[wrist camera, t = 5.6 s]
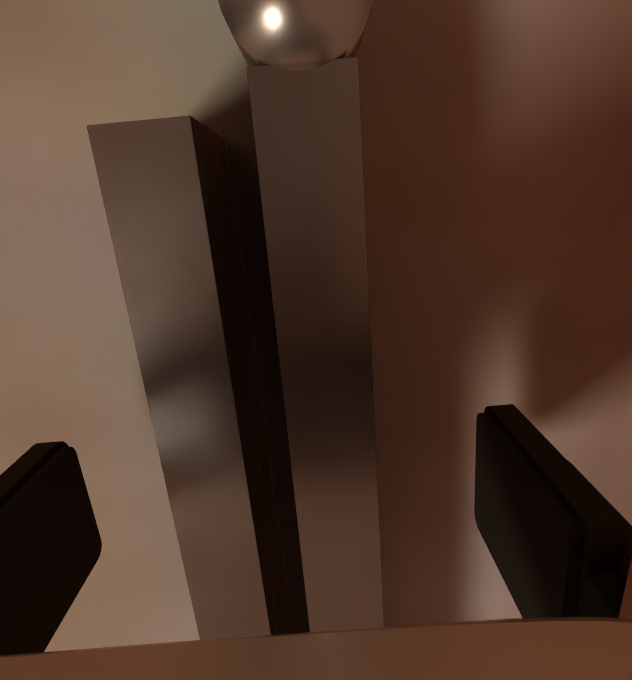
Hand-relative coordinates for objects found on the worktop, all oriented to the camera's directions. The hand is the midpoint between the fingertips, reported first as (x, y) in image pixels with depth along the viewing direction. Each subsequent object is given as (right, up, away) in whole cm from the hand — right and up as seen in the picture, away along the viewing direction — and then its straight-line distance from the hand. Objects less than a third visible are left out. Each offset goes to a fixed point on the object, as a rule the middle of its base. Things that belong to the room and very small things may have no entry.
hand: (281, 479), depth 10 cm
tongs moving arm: (+2, -3, +3) cm, 4 cm away
